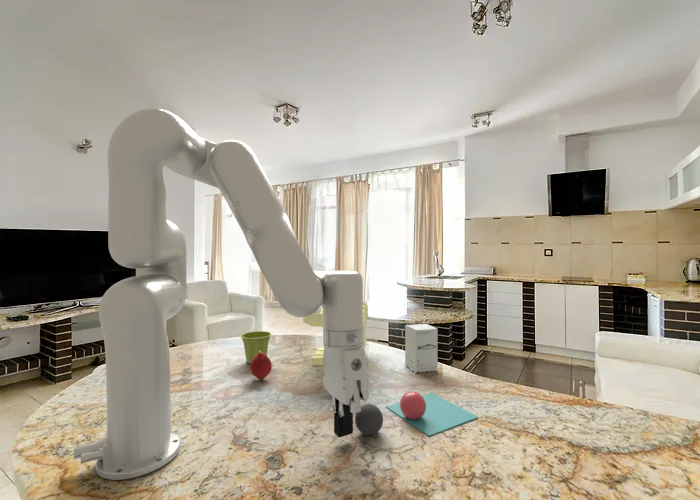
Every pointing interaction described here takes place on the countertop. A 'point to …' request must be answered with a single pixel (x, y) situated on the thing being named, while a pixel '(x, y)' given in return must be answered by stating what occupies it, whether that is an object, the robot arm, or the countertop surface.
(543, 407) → the countertop surface
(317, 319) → the slatted curved stool
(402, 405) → the red ball
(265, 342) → the plant pot
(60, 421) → the countertop surface
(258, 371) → the onion
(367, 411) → the dark gray ball
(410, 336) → the supplement box
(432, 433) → the teal mark
